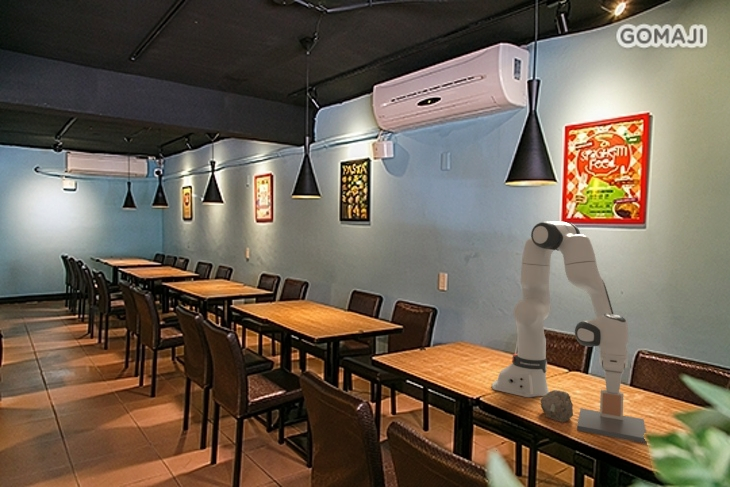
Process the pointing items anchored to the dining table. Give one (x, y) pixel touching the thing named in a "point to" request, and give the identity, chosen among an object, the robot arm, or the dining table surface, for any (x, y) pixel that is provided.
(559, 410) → the rock
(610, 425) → the board
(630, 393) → the dining table surface
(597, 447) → the dining table surface
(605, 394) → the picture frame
